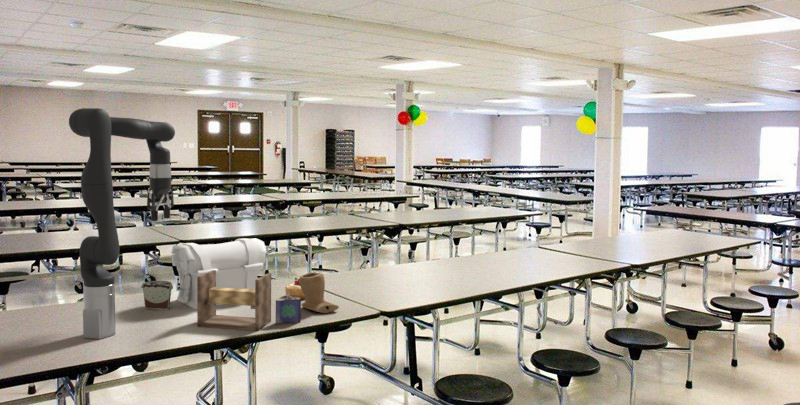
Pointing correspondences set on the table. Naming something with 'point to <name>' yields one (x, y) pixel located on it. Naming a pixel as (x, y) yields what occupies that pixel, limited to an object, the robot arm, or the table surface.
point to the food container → (157, 294)
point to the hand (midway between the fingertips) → (160, 219)
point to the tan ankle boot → (315, 293)
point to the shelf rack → (210, 319)
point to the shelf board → (232, 296)
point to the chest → (218, 265)
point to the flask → (288, 310)
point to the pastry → (295, 290)
